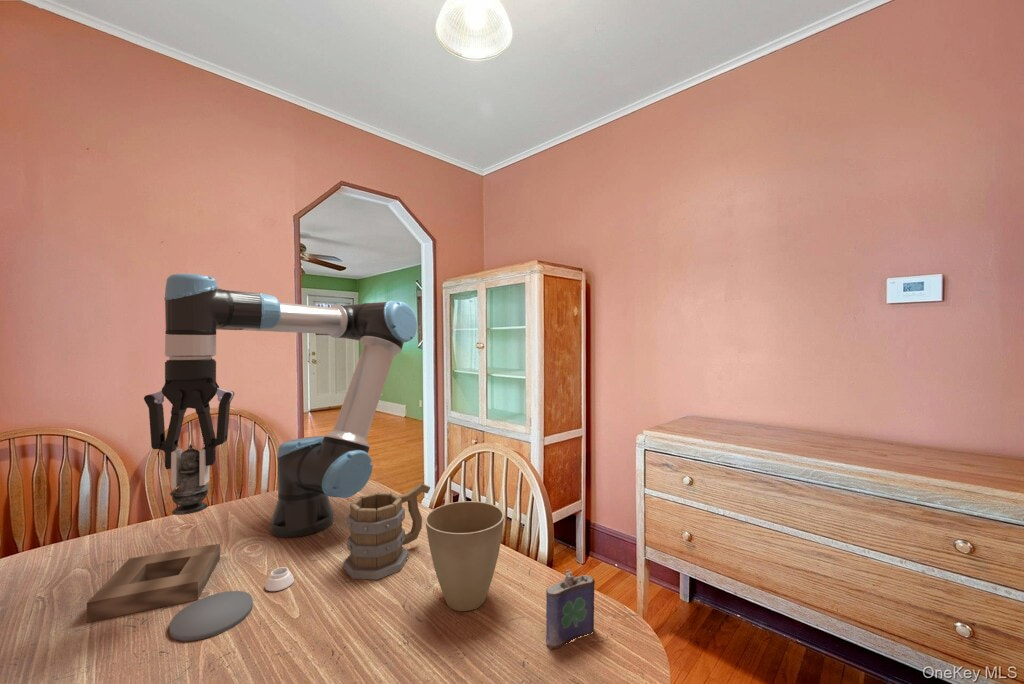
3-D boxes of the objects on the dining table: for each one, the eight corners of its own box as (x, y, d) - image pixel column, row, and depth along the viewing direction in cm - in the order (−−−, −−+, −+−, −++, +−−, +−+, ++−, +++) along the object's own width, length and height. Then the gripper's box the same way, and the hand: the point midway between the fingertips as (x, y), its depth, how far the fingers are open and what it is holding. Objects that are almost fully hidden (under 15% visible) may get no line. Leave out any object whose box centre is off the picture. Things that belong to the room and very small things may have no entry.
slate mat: (257, 590, 81) (257, 585, 81) (245, 629, 70) (245, 623, 70) (183, 605, 77) (183, 600, 77) (157, 650, 66) (157, 643, 66)
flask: (551, 652, 65) (551, 584, 65) (541, 640, 68) (541, 574, 68) (597, 633, 69) (597, 569, 69) (587, 622, 72) (587, 561, 72)
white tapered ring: (281, 576, 86) (259, 590, 82) (281, 562, 86) (259, 575, 82) (299, 581, 85) (277, 595, 80) (299, 567, 85) (277, 580, 80)
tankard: (359, 587, 82) (358, 512, 82) (337, 562, 92) (337, 495, 91) (444, 553, 95) (444, 488, 95) (418, 534, 105) (418, 475, 105)
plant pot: (514, 584, 83) (514, 505, 83) (486, 634, 69) (486, 539, 69) (448, 571, 88) (448, 496, 88) (409, 615, 74) (409, 526, 74)
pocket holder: (220, 558, 93) (219, 543, 93) (198, 599, 78) (197, 581, 78) (129, 574, 87) (129, 558, 87) (86, 622, 72) (86, 602, 72)
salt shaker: (186, 517, 73) (186, 449, 73) (161, 513, 74) (161, 447, 74) (217, 504, 78) (218, 441, 78) (193, 501, 80) (194, 439, 80)
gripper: (248, 357, 83) (247, 473, 83) (145, 358, 77) (144, 483, 77) (237, 358, 76) (237, 485, 76) (123, 359, 70) (123, 497, 70)
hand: (190, 484), depth 76 cm, fingers closed on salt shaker, 3 cm apart
